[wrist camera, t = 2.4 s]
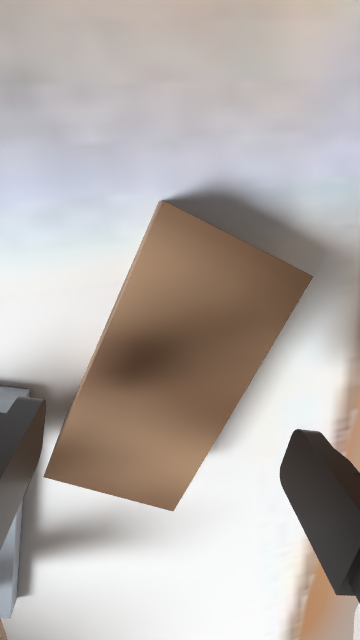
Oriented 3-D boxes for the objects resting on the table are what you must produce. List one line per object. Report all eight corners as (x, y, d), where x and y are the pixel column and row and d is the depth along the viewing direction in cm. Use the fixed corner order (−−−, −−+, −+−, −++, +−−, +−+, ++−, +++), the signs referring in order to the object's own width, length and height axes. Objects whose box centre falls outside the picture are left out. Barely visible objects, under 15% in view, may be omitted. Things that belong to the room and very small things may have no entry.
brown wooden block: (158, 201, 14) (163, 200, 10) (276, 260, 15) (313, 276, 12) (63, 423, 17) (43, 476, 14) (168, 456, 18) (173, 511, 15)
